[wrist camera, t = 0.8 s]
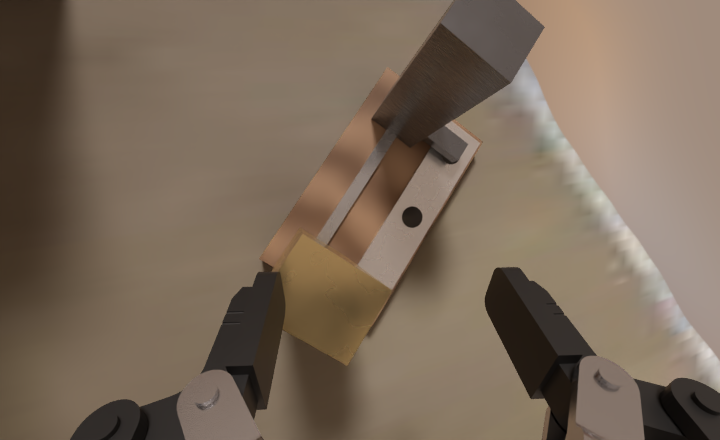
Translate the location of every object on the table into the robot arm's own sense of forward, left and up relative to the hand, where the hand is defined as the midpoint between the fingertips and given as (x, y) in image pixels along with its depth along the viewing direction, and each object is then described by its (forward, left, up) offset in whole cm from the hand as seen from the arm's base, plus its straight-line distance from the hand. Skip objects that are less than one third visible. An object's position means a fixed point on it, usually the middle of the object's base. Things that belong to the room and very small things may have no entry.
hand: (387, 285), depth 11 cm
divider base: (-4, +6, -21) cm, 22 cm away
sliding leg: (+2, -1, -18) cm, 18 cm away
